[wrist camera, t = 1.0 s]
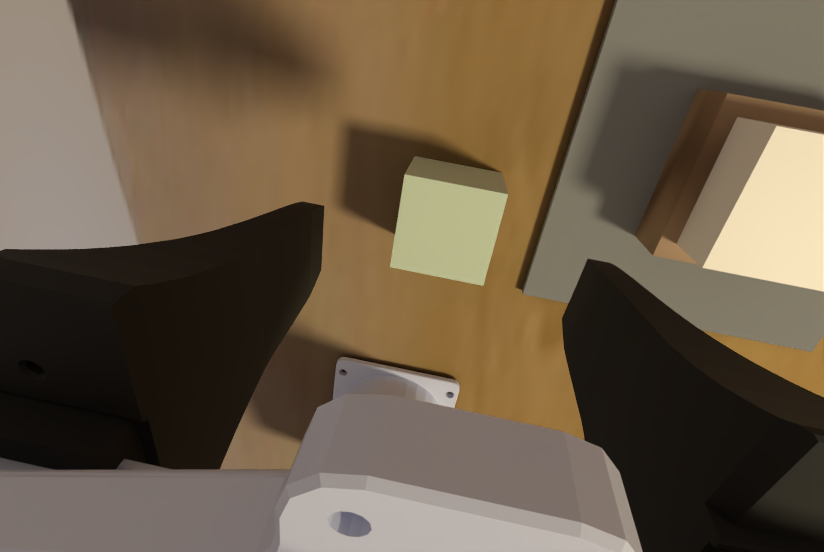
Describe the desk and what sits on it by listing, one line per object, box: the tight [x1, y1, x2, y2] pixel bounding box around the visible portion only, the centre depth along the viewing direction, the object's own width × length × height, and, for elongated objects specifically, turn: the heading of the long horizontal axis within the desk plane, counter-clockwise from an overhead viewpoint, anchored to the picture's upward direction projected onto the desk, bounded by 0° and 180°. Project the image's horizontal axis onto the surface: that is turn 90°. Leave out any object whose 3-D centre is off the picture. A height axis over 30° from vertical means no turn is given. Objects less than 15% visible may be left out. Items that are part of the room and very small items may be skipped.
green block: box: [390, 156, 508, 286], centre depth 22 cm, size 4×4×4 cm
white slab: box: [677, 117, 824, 292], centre depth 17 cm, size 6×6×2 cm
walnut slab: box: [635, 89, 824, 265], centre depth 20 cm, size 7×7×2 cm
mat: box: [522, 0, 824, 352], centre depth 21 cm, size 16×16×1 cm
